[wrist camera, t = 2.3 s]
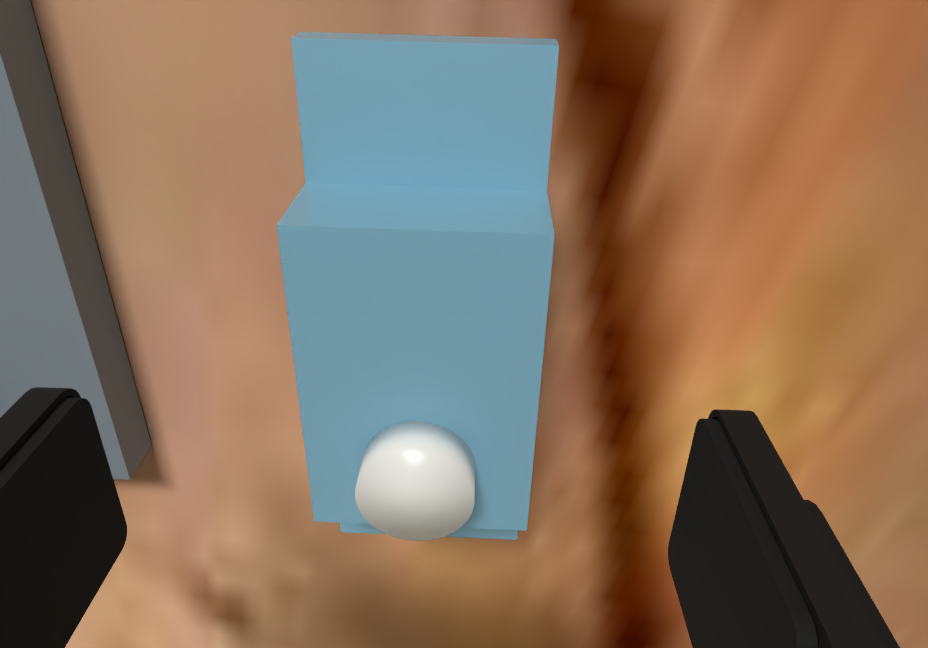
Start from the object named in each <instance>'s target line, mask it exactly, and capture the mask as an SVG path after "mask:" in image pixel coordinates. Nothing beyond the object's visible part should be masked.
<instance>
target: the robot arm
mask: <svg viewBox="0 0 928 648" xmlns="http://www.w3.org/2000/svg"><path fill="white" fill-rule="evenodd" d="M126 536H127V525H126V521H125V517H124V514H123V511H122V507H121V504H120V500H119V497H118V494H117V490H116V487H115V484H114V480H113V477H112V474H111V470H110V467H109V463H108V460H107V457H106V453H105V450H104V447H103V443H102V440H101V437H100V433H99V430H98V426H97V423H96V420H95V416H94V413H93V410H92V406H91V404H90V402H89V401H88V400H87V399H85V398H81V397H80V394H79V393H78V392H77V391H76V390H74V389H71V388H46V387H35V388H31V389H29V390H28V391H27V392H25V393H24V394H23V395H22V396H21V397H20V398H19V399H18V400H17V401H16V402H15V403H14V404H13V405H12V406H11V407H10V408H9V409H8V410H7V411H6V413H5V414H4V415H3V416H2V417H1V418H0V648H65V646H66V644H67V643H68V641H69V639H70V638H71V636H72V634H73V632H74V631H75V629H76V627H77V626H78V624H79V622H80V621H81V619H82V617H83V615H84V614H85V612H86V610H87V609H88V607H89V605H90V603H91V602H92V600H93V598H94V597H95V595H96V593H97V592H98V590H99V588H100V586H101V585H102V583H103V581H104V580H105V578H106V576H107V574H108V573H109V571H110V569H111V568H112V566H113V564H114V563H115V561H116V559H117V557H118V556H119V554H120V552H121V551H122V549H123V547H124V544H125V541H126ZM668 559H669V566H670V570H671V574H672V577H673V581H674V584H675V588H676V591H677V594H678V598H679V601H680V605H681V608H682V612H683V615H684V619H685V622H686V626H687V629H688V633H689V636H690V640H691V643H692V646H693V648H900V647H899V646H898V644H897V642H896V640H895V639H894V637H893V635H892V633H891V632H890V630H889V628H888V626H887V625H886V623H885V621H884V619H883V618H882V616H881V614H880V613H879V611H878V609H877V607H876V606H875V604H874V602H873V600H872V599H871V597H870V595H869V593H868V592H867V590H866V588H865V587H864V585H863V583H862V581H861V580H860V578H859V576H858V574H857V573H856V571H855V569H854V567H853V566H852V564H851V562H850V561H849V559H848V557H847V555H846V554H845V552H844V550H843V548H842V547H841V545H840V543H839V541H838V540H837V538H836V536H835V535H834V533H833V531H832V529H831V528H830V526H829V524H828V522H827V521H826V519H825V517H824V515H823V514H822V512H821V511H820V509H819V508H818V507H817V506H816V504H814V503H813V502H811V501H809V500H803V498H802V496H801V495H800V493H799V491H798V489H797V487H796V486H795V484H794V482H793V480H792V478H791V477H790V475H789V473H788V471H787V469H786V468H785V466H784V464H783V462H782V460H781V459H780V457H779V455H778V453H777V451H776V450H775V448H774V446H773V444H772V442H771V441H770V439H769V437H768V435H767V434H766V432H765V430H764V428H763V426H762V425H761V423H760V421H759V419H758V417H757V416H756V415H755V413H754V412H752V411H742V410H713V411H712V412H711V413H710V415H709V418H708V419H699V421H698V422H697V425H696V428H695V433H694V437H693V441H692V446H691V450H690V454H689V459H688V463H687V467H686V472H685V476H684V480H683V485H682V489H681V493H680V498H679V502H678V506H677V511H676V515H675V519H674V523H673V528H672V532H671V536H670V541H669V547H668Z"/></svg>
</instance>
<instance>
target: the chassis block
mask: <svg viewBox="0 0 928 648" xmlns="http://www.w3.org/2000/svg"><path fill="white" fill-rule="evenodd" d="M35 387H46V388H71V389H74V390H76V391H77V392H78V393H79V394H80V397H81V398H85V399H87V400H88V401H89V402H90V404H91V406H92V410H93V413H94V416H95V420H96V423H97V426H98V430H99V433H100V437H101V440H102V443H103V447H104V450H105V453H106V457H107V460H108V463H109V467H110V470H111V474H112V477H113V479H122V480H130V479H131V478H132V476H133V474H134V473H135V471H136V470H137V468H138V467H139V465H140V463H141V462H142V460H143V459H144V457H145V456H146V454H147V452H148V451H149V449H150V448H151V446H152V444H151V441H150V437H149V433H148V430H147V426H146V422H145V419H144V415H143V411H142V408H141V404H140V400H139V397H138V393H137V390H136V386H135V382H134V379H133V375H132V371H131V368H130V364H129V360H128V357H127V353H126V349H125V346H124V342H123V338H122V335H121V331H120V327H119V324H118V320H117V316H116V313H115V309H114V305H113V302H112V298H111V294H110V291H109V287H108V284H107V280H106V276H105V273H104V269H103V265H102V262H101V258H100V254H99V251H98V247H97V243H96V240H95V236H94V232H93V229H92V225H91V221H90V218H89V214H88V210H87V207H86V203H85V199H84V196H83V192H82V188H81V185H80V181H79V178H78V174H77V170H76V167H75V163H74V159H73V156H72V152H71V148H70V145H69V141H68V137H67V134H66V130H65V126H64V123H63V119H62V115H61V112H60V108H59V104H58V101H57V97H56V93H55V90H54V86H53V82H52V79H51V75H50V72H49V68H48V64H47V61H46V57H45V53H44V50H43V46H42V42H41V39H40V35H39V31H38V28H37V24H36V20H35V17H34V13H33V9H32V6H31V2H30V0H0V418H1V417H2V416H3V415H4V414H5V413H6V411H7V410H8V409H9V408H10V407H11V406H12V405H13V404H14V403H15V402H16V401H17V400H18V399H19V398H20V397H21V396H22V395H23V394H24V393H25V392H27V391H28V390H29V389H31V388H35Z"/></svg>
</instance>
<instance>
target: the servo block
mask: <svg viewBox="0 0 928 648" xmlns="http://www.w3.org/2000/svg"><path fill="white" fill-rule="evenodd" d="M291 42H292V52H293V62H294V72H295V82H296V92H297V102H298V112H299V122H300V132H301V142H302V152H303V162H304V172H305V182H306V183H305V184H304V186H303V187H302V189H301V190H300V192H299V193H298V194H297V196H296V197H295V199H294V200H293V202H292V203H291V205H290V206H289V208H288V209H287V211H286V212H285V214H284V215H283V216H282V218H281V219H280V221H279V222H278V224H277V233H278V241H279V249H280V256H281V264H282V272H283V280H284V288H285V296H286V304H287V312H288V319H289V327H290V335H291V343H292V351H293V359H294V367H295V375H296V382H297V390H298V398H299V406H300V414H301V422H302V430H303V438H304V445H305V453H306V461H307V469H308V477H309V485H310V493H311V501H312V508H313V516H314V521H315V522H338V523H340V530H341V532H352V533H375V534H388V535H390V536H393V537H396V538H400V539H405V540H413V541H425V540H433V539H438V538H441V537H466V538H488V539H511V540H517V535H518V530H522V531H527V523H528V513H529V502H530V491H531V481H532V470H533V460H534V449H535V438H536V428H537V417H538V407H539V396H540V385H541V375H542V364H543V354H544V343H545V332H546V322H547V311H548V300H549V290H550V279H551V269H552V258H553V247H554V237H555V233H554V228H553V222H552V217H551V211H550V206H549V200H548V195H547V182H548V170H549V158H550V146H551V134H552V123H553V111H554V99H555V87H556V76H557V64H558V52H559V44H558V42H557V40H556V39H542V38H506V37H470V36H434V35H397V34H361V33H325V32H300V33H298V34H297V35H295V36H293V37H292V38H291Z"/></svg>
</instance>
